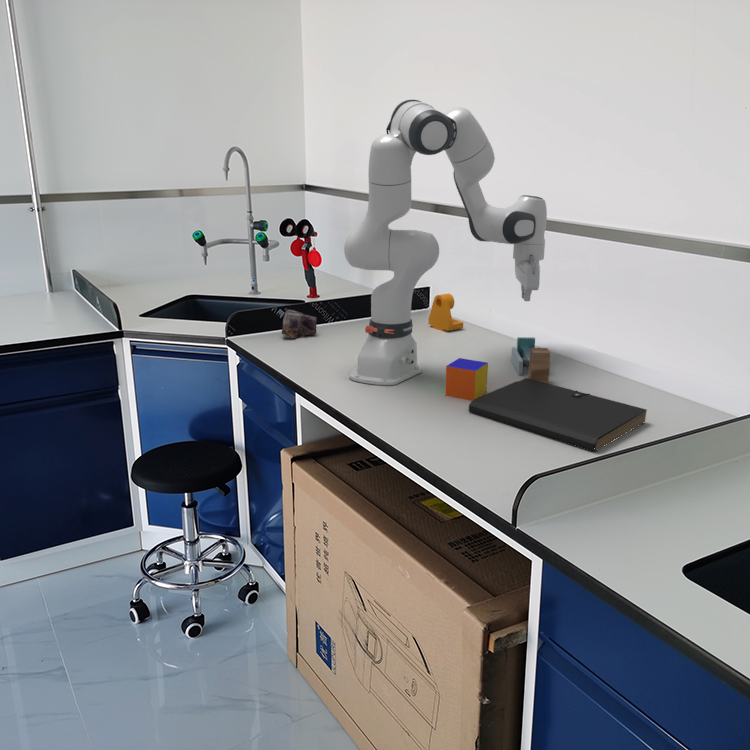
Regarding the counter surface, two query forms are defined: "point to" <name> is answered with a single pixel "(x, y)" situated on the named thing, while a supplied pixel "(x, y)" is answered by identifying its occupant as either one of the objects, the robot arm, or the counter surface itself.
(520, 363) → the channel
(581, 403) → the black book
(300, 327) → the rock
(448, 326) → the bracket
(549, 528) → the counter surface
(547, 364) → the walnut block
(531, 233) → the robot arm
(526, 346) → the teal headed mallet
